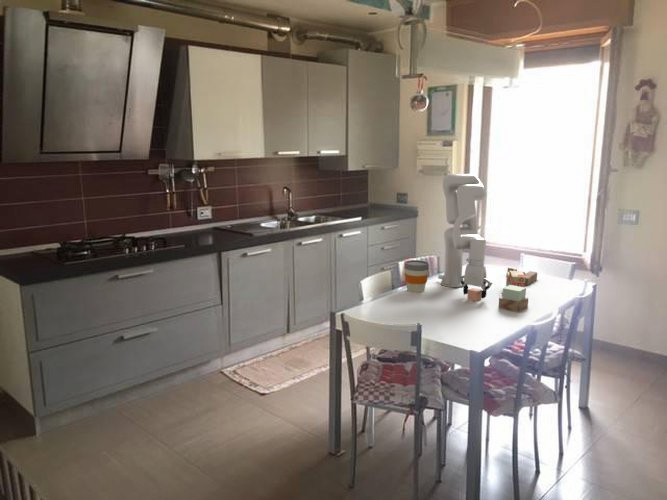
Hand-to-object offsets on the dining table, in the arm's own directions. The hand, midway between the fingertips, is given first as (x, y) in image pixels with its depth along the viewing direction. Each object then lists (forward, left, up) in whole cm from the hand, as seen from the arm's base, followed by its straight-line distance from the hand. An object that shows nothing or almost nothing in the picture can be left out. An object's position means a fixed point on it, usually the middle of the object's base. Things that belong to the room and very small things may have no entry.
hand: (474, 295), depth 272 cm
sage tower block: (+20, 0, +3) cm, 20 cm away
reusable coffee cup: (-30, -7, -2) cm, 31 cm away
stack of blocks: (+11, +22, -2) cm, 25 cm away
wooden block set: (0, +51, -2) cm, 51 cm away
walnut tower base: (+20, 0, -2) cm, 20 cm away
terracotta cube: (0, 0, -2) cm, 2 cm away
